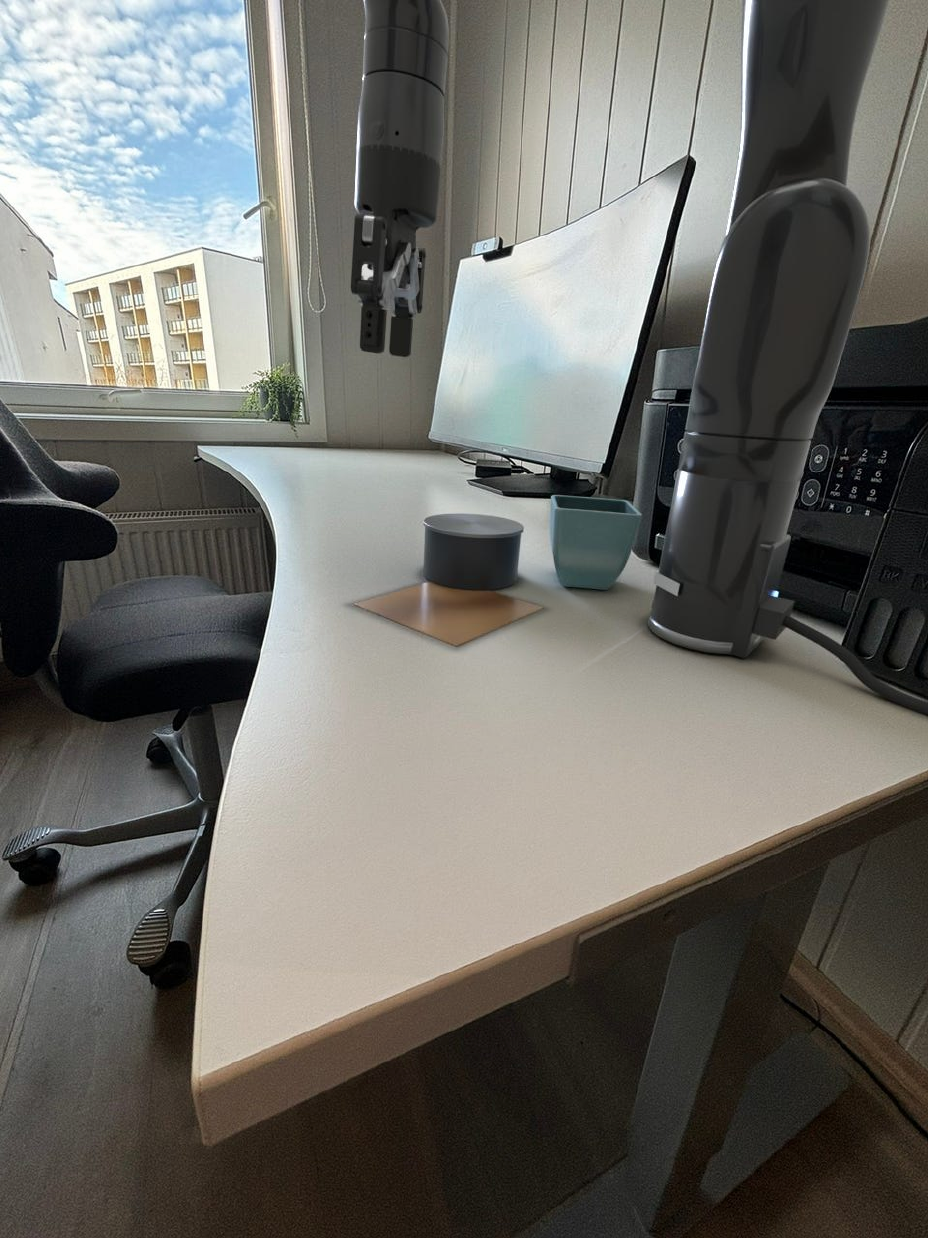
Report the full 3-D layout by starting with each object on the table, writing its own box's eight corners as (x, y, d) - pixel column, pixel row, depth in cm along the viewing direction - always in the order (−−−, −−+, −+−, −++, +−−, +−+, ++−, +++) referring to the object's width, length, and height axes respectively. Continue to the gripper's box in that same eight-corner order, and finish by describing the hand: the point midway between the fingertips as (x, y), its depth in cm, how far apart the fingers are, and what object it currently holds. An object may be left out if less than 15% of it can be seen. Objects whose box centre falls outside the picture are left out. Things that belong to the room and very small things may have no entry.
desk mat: (543, 609, 55) (543, 607, 55) (456, 647, 46) (456, 645, 46) (445, 577, 63) (445, 576, 63) (353, 605, 54) (353, 603, 54)
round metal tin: (537, 578, 65) (543, 526, 63) (477, 598, 57) (481, 539, 55) (464, 557, 71) (467, 510, 69) (401, 573, 63) (402, 519, 61)
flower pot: (616, 574, 68) (628, 499, 64) (629, 599, 59) (643, 514, 56) (542, 568, 68) (550, 493, 65) (545, 592, 60) (554, 508, 57)
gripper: (417, 127, 44) (400, 357, 50) (457, 184, 56) (439, 361, 63) (326, 119, 45) (321, 346, 51) (385, 177, 57) (375, 352, 64)
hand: (386, 354), depth 57 cm, fingers open, 8 cm apart
